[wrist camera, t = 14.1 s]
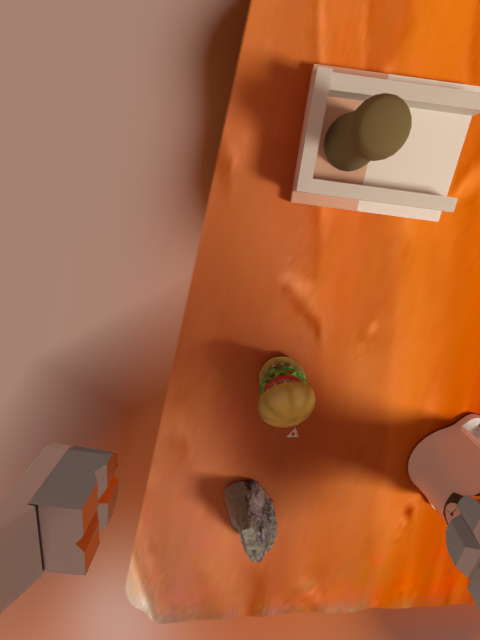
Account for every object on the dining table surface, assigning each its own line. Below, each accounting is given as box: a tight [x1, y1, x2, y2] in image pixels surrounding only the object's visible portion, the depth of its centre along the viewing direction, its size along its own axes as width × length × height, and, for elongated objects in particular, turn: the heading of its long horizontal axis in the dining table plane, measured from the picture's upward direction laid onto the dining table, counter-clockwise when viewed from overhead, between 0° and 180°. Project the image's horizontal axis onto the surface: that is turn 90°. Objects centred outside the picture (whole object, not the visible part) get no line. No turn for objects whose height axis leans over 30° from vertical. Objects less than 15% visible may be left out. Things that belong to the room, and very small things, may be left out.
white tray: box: [290, 64, 480, 222], centre depth 38 cm, size 18×14×5 cm
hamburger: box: [257, 356, 316, 437], centre depth 46 cm, size 8×7×12 cm
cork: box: [324, 93, 412, 172], centre depth 34 cm, size 6×6×11 cm
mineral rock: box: [224, 481, 277, 562], centre depth 56 cm, size 13×11×10 cm
